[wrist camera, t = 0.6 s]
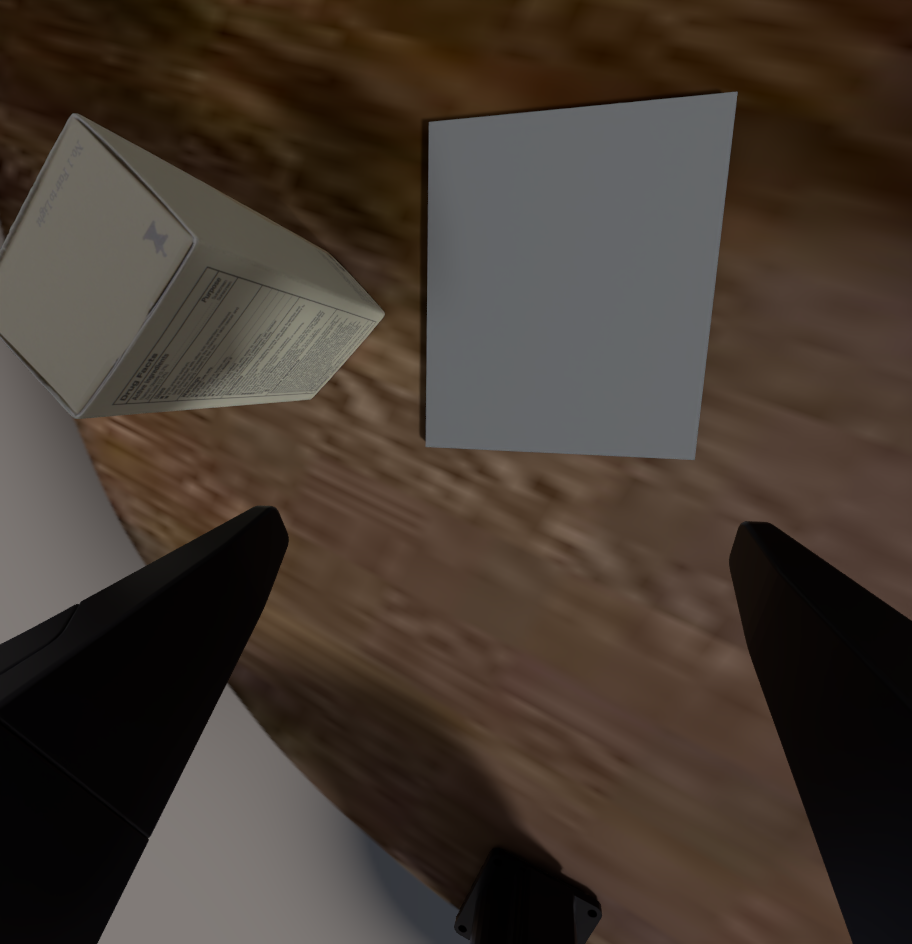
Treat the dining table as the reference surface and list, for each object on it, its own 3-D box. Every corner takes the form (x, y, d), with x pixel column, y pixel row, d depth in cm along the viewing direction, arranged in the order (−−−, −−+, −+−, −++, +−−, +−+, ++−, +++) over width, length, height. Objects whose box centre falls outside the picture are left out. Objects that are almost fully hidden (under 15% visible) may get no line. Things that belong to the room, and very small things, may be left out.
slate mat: (690, 458, 20) (694, 459, 20) (428, 445, 23) (425, 446, 22) (731, 101, 18) (737, 91, 17) (432, 129, 20) (428, 122, 20)
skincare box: (329, 250, 22) (73, 90, 10) (391, 317, 22) (205, 233, 10) (252, 345, 24) (-42, 301, 12) (310, 408, 24) (71, 425, 12)
